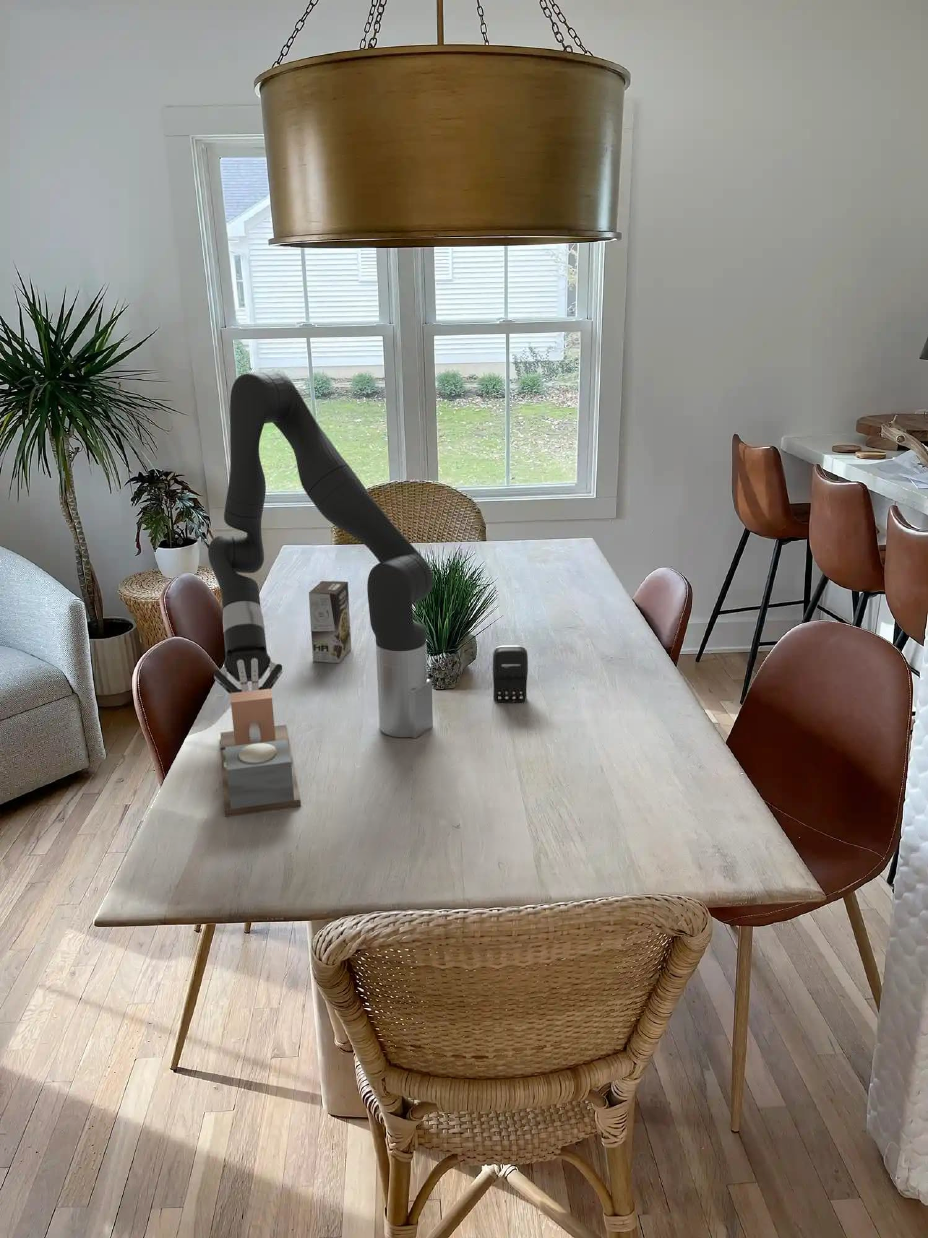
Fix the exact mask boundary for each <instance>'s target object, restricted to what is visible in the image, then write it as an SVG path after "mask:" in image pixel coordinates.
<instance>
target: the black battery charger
mask: <svg viewBox="0 0 928 1238" xmlns="http://www.w3.org/2000/svg"><path fill="white" fill-rule="evenodd" d="M528 656H529V654H528V650H527V649H526V647H525V646H523V645H513V644H511V645H510V644H509V645H508V644H507V645H505V644H504V645H499V646H496V647H495V648H494V650H493V652H492V681H493V687H492V688H493V692H492V693H493V694H492V697H493V700H494V702H495V703H499V704H500V703H501V704H502V703H503V704H506V703H507V704H512V703H513V704H517V703H518V704H519V702H521V703H524V702H526V701H527V697H528V692H527V690H528V689H527V688H528V687H527V686H528V684H527V683H528V673H529V672H528V671H529V669H528V668H529V657H528Z"/></svg>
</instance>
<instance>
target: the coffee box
mask: <svg viewBox="0 0 928 1238" xmlns="http://www.w3.org/2000/svg"><path fill="white" fill-rule="evenodd" d="M308 602H309V616H310V617H309V618H310V621H309V622H310V631H311V633H310V635H311V650H312V654H311V655H312V661H313V662H319V663H332V664H340V663H341V661H342V660H343V659H344V658H345V656H347V654H348V653H349V652H350V651H351V649H352V635H351V634H352V631H351V616H350V598H349V582H348V581H339V580H338V581H337V580H330V581H329V580H327V581H326V580H321V581H320V582H319V583H318V584H317V585H316V586H314V587H313V589H311V590H310V591H309V592H308Z"/></svg>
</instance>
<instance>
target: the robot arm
mask: <svg viewBox="0 0 928 1238" xmlns="http://www.w3.org/2000/svg"><path fill="white" fill-rule="evenodd" d="M229 405H230V406H229V416H230V417H229V422H230V423H229V426H230V427H229V428H230V429H229V430H230V431H229V435H230V437H229V438H230V439H229V440H230V442H229V443H230V446H229V447H230V467H229V478H228V479H229V480H228V487H227V493H226V499H225V506H224V507H225V508H224V514H223V520H224V522H225V524H226V525H227V526H229V527H230V528H232V529H235V530H238V531H241V532H244V533H246V536H234V535H218V536H215V537H214V538H212V540H211V541H210V543H209V545H208V549H207V555H208V557H207V558H208V561H209V564H210V567H211V570H212V571H213V574H214V577H215V578H216V581H217V584H218V586H219V590H220V594H221V603H222V627H223V629H222V631H223V632H222V633H223V639H224V650H225V652H224V653H225V659H224V661H223V666H222V667H221V668H220V669H219V670H214V672H213V678H214V680H215V682H216V683H218V684H219V686H221V687H222V688H223V689H224V690H225V691H226V692H227V693H228V694H229V695H230V693H236V692H245V691H250V689H249V685H248V682H251V691H254V690H263V689H271V690H272V689H273V687H274V686H275V684H276V683H277V681H278V680H279V678H280V677H281V676H282V674H283V665H282V664H281V663H278V664H277V663H275V662H273V661H272V660H271V657H270V656H269V653H268V650H267V649H268V648H267V641H266V632H265V631H266V630H265V628H266V627H265V623H264V622H265V621H264V616H263V611H262V607H261V598H260V590H259V589H260V588H259V584H258V583H257V581H256V580H255V579H253V578H251V577H247V576H245V575H242V574H254V573H256V572H259V570H260V569H261V568H262V567H263V564H264V562H265V550H264V545H263V537H262V519H263V513H264V505H265V500H266V495H267V494H266V492H267V491H266V490H267V487H266V486H267V485H266V483H267V482H266V477H265V473H264V470H263V466H262V462H261V457H260V443H261V442H260V441H261V435H262V432H263V429H264V426H265V424H271V423H272V424H273V425H275V427H276V428H277V429H278V430H279V431H280V433H281V434H282V435H283V436H284V438H285V440H286V441H287V442H288V443H289V445H290V446H291V449H292V452H293V453H294V456H295V461H296V467H297V472H298V476H299V482H300V483H301V486H302V488H303V491H305V493H306V495H307V496H308V498H309V499H310V500H311V501H312V503H313V504H314V506H315V508H316V509H317V510H318V511H319V513H320V514H322V516H323V517H324V518H325V519H326V520H327V521H328V522H330V523H331V524H333V525H334V526H335V527H337V528H339V529H340V530H342V531H343V532H344V533H346V534H348V535H349V536H351V537H353V538H354V539H356V540H357V541H358V542H359V541H360V542H361V543H362V544H363V545H364V546H365V547H366V548H368V550H369V552H371V553H372V554H373V555H374V557H375V558H376V560H377V561H378V563H377V564H376V565H374V566H373V567H372V568H371V570H370V571H369V574H368V578H367V584H366V587H367V591H366V592H367V601H368V602H367V603H368V612H369V621H370V626H371V630H372V632H373V634H374V637H375V649H376V650H375V651H376V653H375V654H376V671H377V672H376V674H377V675H376V676H377V678H376V679H377V695H378V696H377V701H378V718H379V720H378V721H379V722H378V723H379V724H378V725H379V729H380V731H381V732H382V733H383V734H384V735H386V736H390V737H395V738H414V739H416V738H418V737H419V736H421V735H422V734H423V733H425V732H426V731H428V730H429V729H430V728H432V727H433V726H434V724H433V723H434V720H433V719H434V717H433V716H434V715H433V714H434V713H433V710H434V709H433V682H432V679H430V678H428V662H427V660H428V657H427V655H428V653H427V629H426V628H425V626H424V625H423V624H422V623H421V622H419V621H416V620H414V614H413V612H414V611H413V605H414V604H416V603H418V602H420V601H422V600H424V599H425V598H426V597H428V596H429V595H430V594H431V592H432V590H433V587H434V577H433V576H434V575H433V572H432V570H431V568H430V565H429V564H428V562H427V560H425V559H426V558H424V557H423V556H422V555H421V553H420V552H419V551H418V550H417V549H416V548H415V546H413V544H412V543H410V541H409V540H408V539H407V538H406V537H405V536H404V534H402V533H401V531H399V529H398V528H397V527H396V526H395V525H394V523H393V522H392V521H391V520H390V518H389V517H388V516H387V515H386V513H385V512H384V510H382V508H381V507H380V506H379V505H378V503H377V502H376V500H375V499H374V498H373V497H372V496H371V494H370V493H369V491H368V489H366V487H365V486H364V484H363V483H362V481H361V480H360V479H359V477H358V476H357V475H356V473H355V471H354V470H353V468H351V466H350V465H349V464H348V462H346V460H345V459H344V458H343V456H342V455H341V454H340V452H339V451H338V450H337V448H336V447H335V446H334V444H333V443H332V442H331V440H330V438H329V437H328V436H327V435H326V433H325V432H324V431H323V429H322V428H321V426H320V425H319V423H318V422H317V420H316V418H315V417H314V415H313V414H312V412H311V411H310V408H309V407H308V406H307V404H306V402H305V400H304V398H303V397H302V394H301V393H300V392H299V390H298V389H297V387H296V385H295V384H294V383H293V382H292V380H291V379H290V378H289V377H288V376H287V375H286V374H284V373H282V372H279V371H275V370H263V371H254V372H251V371H250V372H247V373H244V374H243V373H242V374H241V375H240V376H238V377H237V378H236V379H235V380H234V383H233V384H232V386H231V390H230V399H229ZM267 670H268V674H269V675H268V676H267V678H266V679H265V680H264V681H263V684H262V685H261V686H260V685H259V681H261V679H262V678H263V677H264V675H265V673H266V672H267ZM229 675H230V677H232V678H233V679H234V680H235V681H237V682H239V684H240V688H238V687H237V686H236V685H235V684H234V683H233V682H232V681H231V680H229Z"/></svg>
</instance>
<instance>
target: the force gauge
mask: <svg viewBox="0 0 928 1238" xmlns="http://www.w3.org/2000/svg"><path fill="white" fill-rule="evenodd" d="M274 727H275V738H276V741H270V742H262V743H253V744H245V745H237V746H235V738H234V730H230V731H222V732H220V747H225V750H220V752H221V753H220V754H221V768H222V791H223V795H222V796H223V809H224V810H223V811H224V812H223V813H224V817H230V816H231V817H232V816H238V815H239V816H240V815H246V814H252V813H260V812H266V811H267V812H268V811H274V810H275V811H276V810H283V809H289V808H296V807H297V808H298V807H301V806H302V802H301V795H300V788H299V784H298V781H297V774H296V770H295V763H294V759H293V754H292V749H291V743H290V738H289V733H288V728H287V724H283V725H282V724H280V725H274ZM228 746H229V747H228Z"/></svg>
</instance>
